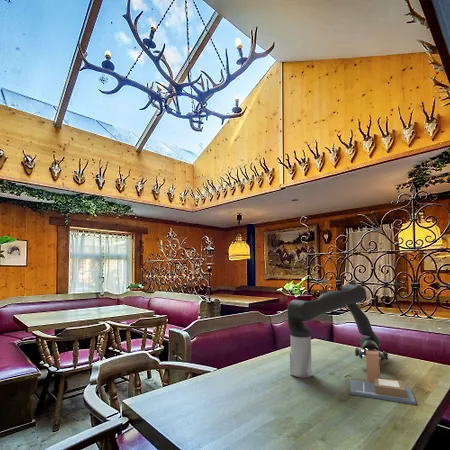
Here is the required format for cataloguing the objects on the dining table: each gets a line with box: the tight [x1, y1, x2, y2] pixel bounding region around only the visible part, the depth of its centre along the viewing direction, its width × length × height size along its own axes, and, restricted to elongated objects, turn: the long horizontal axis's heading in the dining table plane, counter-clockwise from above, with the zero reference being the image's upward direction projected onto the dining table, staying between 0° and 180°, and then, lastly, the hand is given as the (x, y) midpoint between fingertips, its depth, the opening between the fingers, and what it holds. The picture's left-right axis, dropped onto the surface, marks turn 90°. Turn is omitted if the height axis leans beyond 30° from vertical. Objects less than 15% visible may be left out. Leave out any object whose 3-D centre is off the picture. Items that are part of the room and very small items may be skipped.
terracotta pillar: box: [365, 350, 381, 383], centre depth 132 cm, size 5×5×12 cm
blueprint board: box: [349, 377, 417, 406], centre depth 120 cm, size 22×14×4 cm, turn 66°
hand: (371, 357), depth 142 cm, fingers open, 8 cm apart
